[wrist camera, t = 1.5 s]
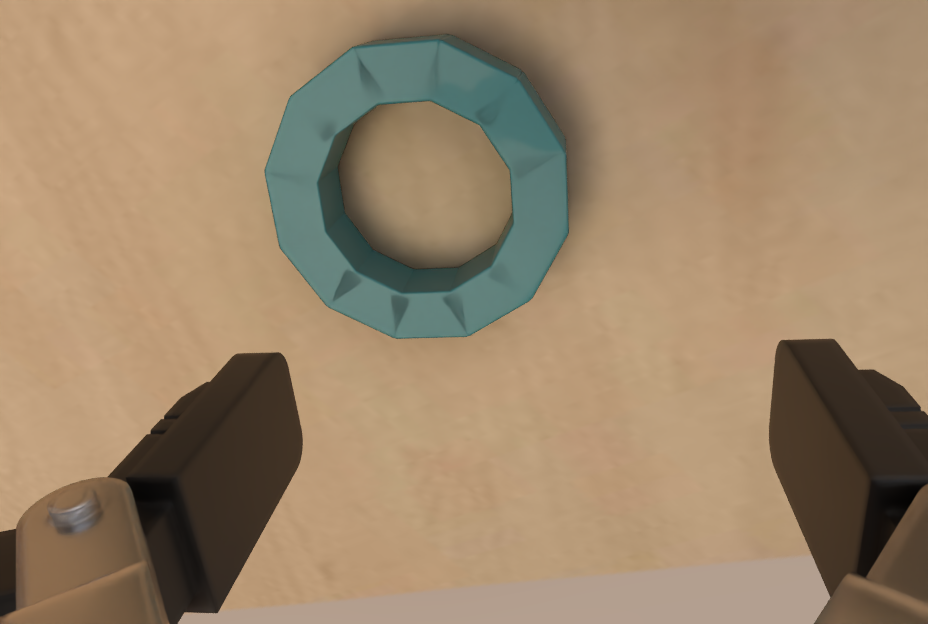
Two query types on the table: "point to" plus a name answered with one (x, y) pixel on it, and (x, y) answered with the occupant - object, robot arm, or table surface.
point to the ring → (344, 248)
